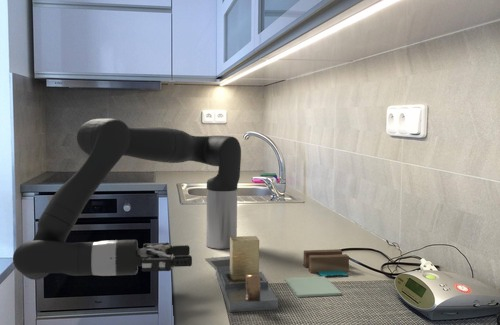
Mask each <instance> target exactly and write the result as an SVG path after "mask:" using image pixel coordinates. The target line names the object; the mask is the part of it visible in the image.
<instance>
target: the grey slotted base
mask: <svg viewBox="0 0 500 325" xmlns="http://www.w3.org/2000/svg"><path fill="white" fill-rule="evenodd" d="M215 276H216V280H217V282H218V285H219V287H220V290H221V292H222V295H223V297H224V301H225V302H226V306H227V310H228V312H229V313H236V312H237V313H239V312H241V313H242V312H257V311H274V310H275V311H277V310H278V311H279V299H278V298H277V296H276V294H275V293H274V291H273V290H272V288H271V287H270V285H269V280H267V278H266V276H265V274H264V273H263V272H262V271H259V274H258V273H248V274H246V281H244V282H230V266H222V267H216V270H215Z"/></svg>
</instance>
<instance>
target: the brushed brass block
mask: <svg viewBox="0 0 500 325" xmlns="http://www.w3.org/2000/svg"><path fill="white" fill-rule="evenodd" d="M229 256H230V282H244V281H246V274H248V273H258V274H259V272H260V239H259V238H258V237H257V236H256V235H249V236H248V235H247V236H245V235H243V236H239V235H238V236H237V237H230V248H229Z"/></svg>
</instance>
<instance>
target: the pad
mask: <svg viewBox="0 0 500 325" xmlns="http://www.w3.org/2000/svg"><path fill="white" fill-rule="evenodd" d="M284 281H285V283H287V285H288V287H289V288H290V289H291V290H292V292H293V293H294V294H295V296H296V297H297V298H307V297H312V298H313V297H328V296H330V297H332V296H342V292H341V291H340V290H339V289H338V288H337V287H336V286H335V285H334V284H333V283H332V282H331V281H330V280H329V279H327V278H326V277H324V276H302V277H301V276H300V277H299V276H298V277H284Z"/></svg>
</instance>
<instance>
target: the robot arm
mask: <svg viewBox="0 0 500 325" xmlns="http://www.w3.org/2000/svg"><path fill="white" fill-rule="evenodd" d="M76 134H77V135H76V142H77V144H78V146H79V148H80V149H81V150H82V151H83V152H84V153H85V154H86V155H88V157H87V159H86V160H85V161H84V163H83V164H82V165H81V167H79V169H78V170H77V171H76V172H75V173H74V174H73V175H72V176H71V177H69V179H68V180H67V181H66V182H65V183H63V184H62V185H61V186H60V187H59V189H58V190H56V192H55V193H54V195H53V196H52V197H51V198H50V200H49V202H48V204H47V205H46V207H45V208H44V210H43V212H42V214H41V215H40V217H39V219H38V222H37V231H36V233H35V235H34V236H33V240H28V241H26V242H23V243H21V244H20V245H19V246H18V247H16V249H15V251H14V253H13V256H12V263H13V265H14V267H15V269H16V270H17V271H18V272H19V273H20V274H22V275H23V276H24V277H25V278H27V279H30V280H32V281H33V280H35V281H36V280H37V281H38V280H41V279H43V278H45V277H48V276H49V275H50V274H64V275H68V276H74V277H77V276H78V277H79V276H99V277H100V276H101V277H106V276H107V277H110V276H135V275H137V274H138V271H139V267H141V271H142V272H171V271H172V269H174V268H175V267H178V268H179V267H191V266H192V264H193V257H192V255H190V246H189V245H173V244H170V242H158V243H156V242H154V243H153V242H152V243H143V245H142V247H141V248H139V243H138V240H137V239H115V240H114V239H110V240H107V239H106V240H99V241H84V242H83V241H82V242H81V241H79V242H66V240H67V238H68V236H69V235H70V233H71V232H72V230H73V228H74V226H75V224H76V223H77V221H78V219H79V217H80V216H81V213H82V212H83V210H84V209H85V206H87V204H88V202H89V200H90V199H91V198H92V196H93V195H94V193H95V192H96V191H97V189H98V188H99V187H100V185H101V184H102V183H103V181H104V180H105V179H106V177H107V176H108V175H109V173H110V172H111V170H113V168H114V167H115V166H116V164H117V163H118V162H119V161H120V160H121V158H123V157H130V158H131V157H132V158H136V159H141V160H146V161H152V162H156V163H157V162H158V163H168V164H181V163H186V162H195V163H201V164H205V165H208V166H212V167H218V171H217V174H216V175H215V176H213V177H211V178H208V179H207V181H206V229H205V230H206V232H205V234H206V235H205V236H206V239H205V241H206V242H205V243H206V244H205V245H206V247H208V248H211V249H217V250H218V249H221V250H223V249H224V250H225V249H230V237H238V236H237V235H238V231H237V230H238V184H239V180H240V177H241V176H240V175H241V162H242V148H241V144H240V142H239V139H238V138H236V137H235V136H231V135H230V136H229V135H204V136H202V135H201V136H200V135H192V134H189V133H188V132H186V131H184V130H182V129H181V130H179V129H176V128H169V127H161V126H159V127H158V126H138V127H137V126H135V127H132V126H131V127H129V125H127V124H126V122H124V121H122V120H120V119H117V118H93V119H90V120H88V121H86V122H85V123H83V124H82V125H81V126H80V127H79V129H78V131H77V133H76Z"/></svg>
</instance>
